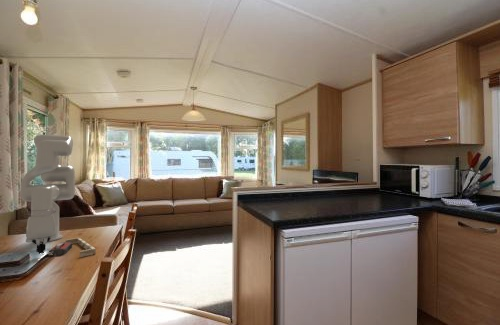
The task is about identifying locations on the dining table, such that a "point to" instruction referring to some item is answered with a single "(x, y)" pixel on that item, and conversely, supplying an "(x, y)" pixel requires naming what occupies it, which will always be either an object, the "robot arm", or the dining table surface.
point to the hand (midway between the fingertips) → (40, 252)
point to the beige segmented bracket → (88, 247)
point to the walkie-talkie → (61, 248)
